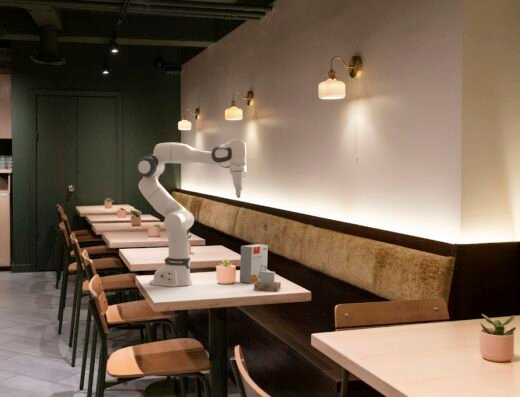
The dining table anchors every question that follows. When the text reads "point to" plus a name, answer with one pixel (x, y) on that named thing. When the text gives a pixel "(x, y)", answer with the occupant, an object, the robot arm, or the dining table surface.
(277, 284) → the walnut box
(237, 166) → the robot arm
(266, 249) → the hard drive box
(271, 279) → the gray rectangular block
